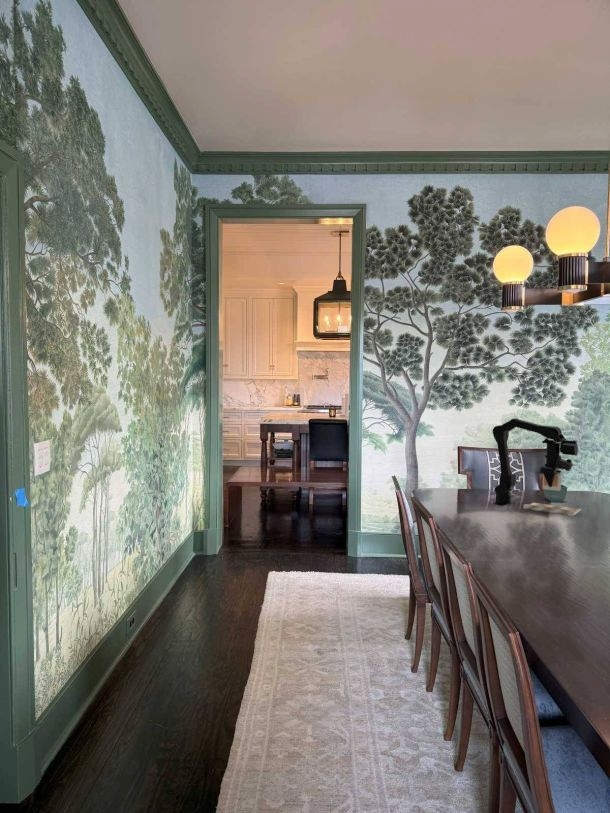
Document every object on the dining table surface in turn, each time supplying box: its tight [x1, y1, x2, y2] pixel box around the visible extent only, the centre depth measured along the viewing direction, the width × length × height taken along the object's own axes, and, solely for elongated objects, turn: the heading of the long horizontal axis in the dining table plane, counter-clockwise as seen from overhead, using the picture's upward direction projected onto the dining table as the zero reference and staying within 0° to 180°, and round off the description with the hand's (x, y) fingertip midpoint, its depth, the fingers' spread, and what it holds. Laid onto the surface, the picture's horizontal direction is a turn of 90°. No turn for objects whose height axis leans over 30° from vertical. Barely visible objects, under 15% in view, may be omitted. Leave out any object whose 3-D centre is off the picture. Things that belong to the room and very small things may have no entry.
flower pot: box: [543, 483, 568, 503], centre depth 278 cm, size 9×9×9 cm
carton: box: [542, 472, 562, 491], centre depth 258 cm, size 4×7×8 cm, turn 51°
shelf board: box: [523, 502, 582, 517], centre depth 260 cm, size 22×16×3 cm
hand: (551, 486), depth 258 cm, fingers closed on carton, 4 cm apart
